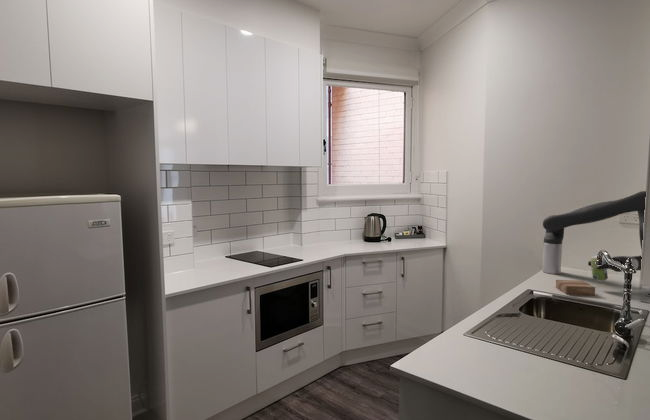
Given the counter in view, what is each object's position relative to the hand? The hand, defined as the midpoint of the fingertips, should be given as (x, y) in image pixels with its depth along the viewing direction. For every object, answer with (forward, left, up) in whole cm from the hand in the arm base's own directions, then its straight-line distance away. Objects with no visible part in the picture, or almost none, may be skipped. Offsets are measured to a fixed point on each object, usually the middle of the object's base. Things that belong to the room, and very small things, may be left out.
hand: (594, 265), depth 187 cm
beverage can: (-1, +2, -8) cm, 8 cm away
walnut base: (+5, -10, -12) cm, 17 cm away
